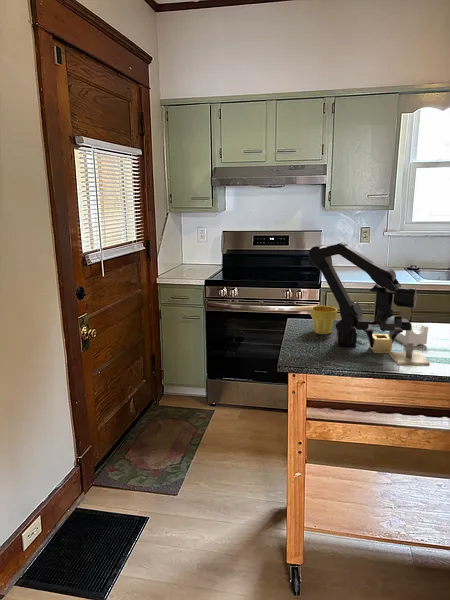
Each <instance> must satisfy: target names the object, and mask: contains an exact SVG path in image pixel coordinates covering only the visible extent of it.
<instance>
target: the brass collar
mask: <svg viewBox="0 0 450 600" xmlns="http://www.w3.org/2000/svg"><path fill="white" fill-rule="evenodd" d="M372 339H373V345H372V348H371V347H370V345H368V347H369V348H371V349H370V350H371V351H372V353H373V352H374V354H389V352H392V348H393V343H392V339H391V338H390V337H389V333H388V334H387V333H373V334H372Z"/></svg>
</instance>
